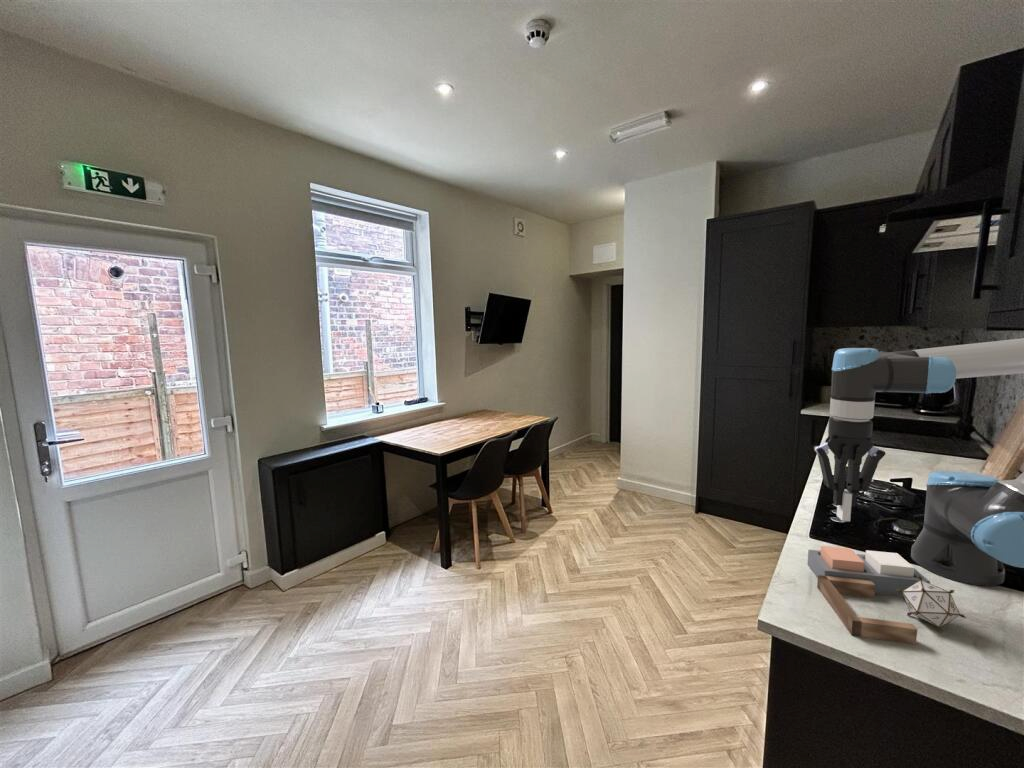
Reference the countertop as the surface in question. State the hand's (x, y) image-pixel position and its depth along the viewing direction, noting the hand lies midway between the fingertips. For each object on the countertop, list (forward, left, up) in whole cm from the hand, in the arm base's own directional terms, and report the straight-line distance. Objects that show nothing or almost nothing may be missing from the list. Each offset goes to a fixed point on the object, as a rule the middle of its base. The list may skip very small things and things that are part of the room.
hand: (843, 518), depth 93 cm
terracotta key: (0, 0, -12) cm, 12 cm away
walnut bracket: (+1, +13, -15) cm, 19 cm away
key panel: (-5, 0, -15) cm, 15 cm away
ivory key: (-9, 0, -12) cm, 15 cm away
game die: (-10, +13, -15) cm, 22 cm away
